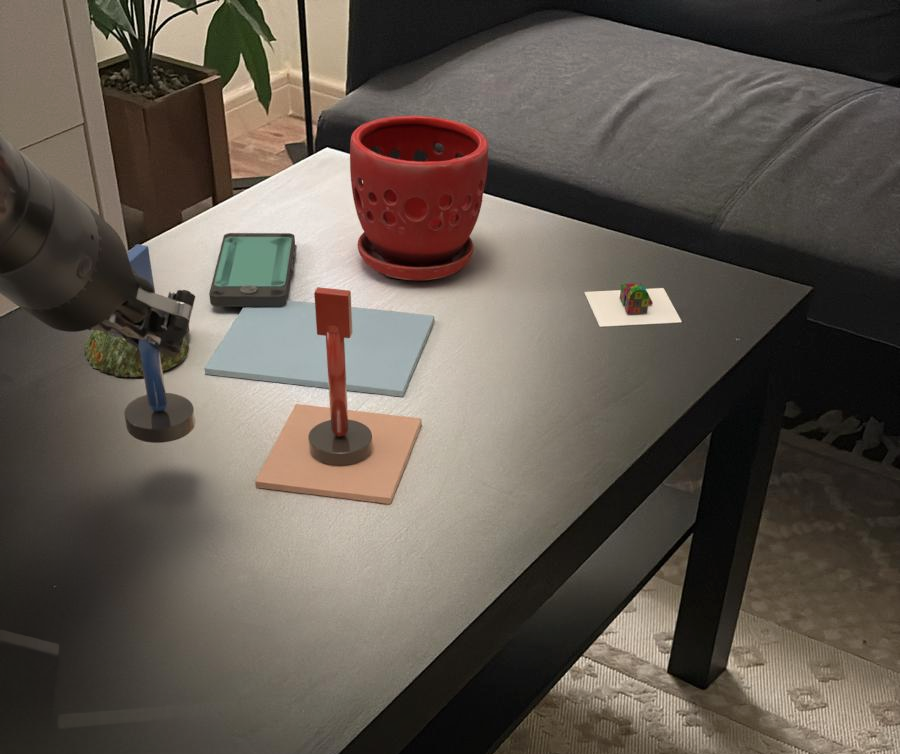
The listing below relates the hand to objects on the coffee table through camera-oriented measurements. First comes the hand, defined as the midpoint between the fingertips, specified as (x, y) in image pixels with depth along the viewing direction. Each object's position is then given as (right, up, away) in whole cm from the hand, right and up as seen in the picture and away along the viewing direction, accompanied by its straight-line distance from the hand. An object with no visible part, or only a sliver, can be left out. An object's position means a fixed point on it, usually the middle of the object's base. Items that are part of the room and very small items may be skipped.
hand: (163, 341), depth 95 cm
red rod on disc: (+12, -5, +10) cm, 17 cm away
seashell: (-7, +7, +21) cm, 24 cm away
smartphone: (+2, +18, +31) cm, 36 cm away
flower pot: (+18, +20, +34) cm, 44 cm away
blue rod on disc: (-1, -5, +3) cm, 6 cm away
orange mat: (+12, -6, +10) cm, 17 cm away
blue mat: (+10, +7, +22) cm, 25 cm away
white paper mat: (+39, +13, +28) cm, 50 cm away
